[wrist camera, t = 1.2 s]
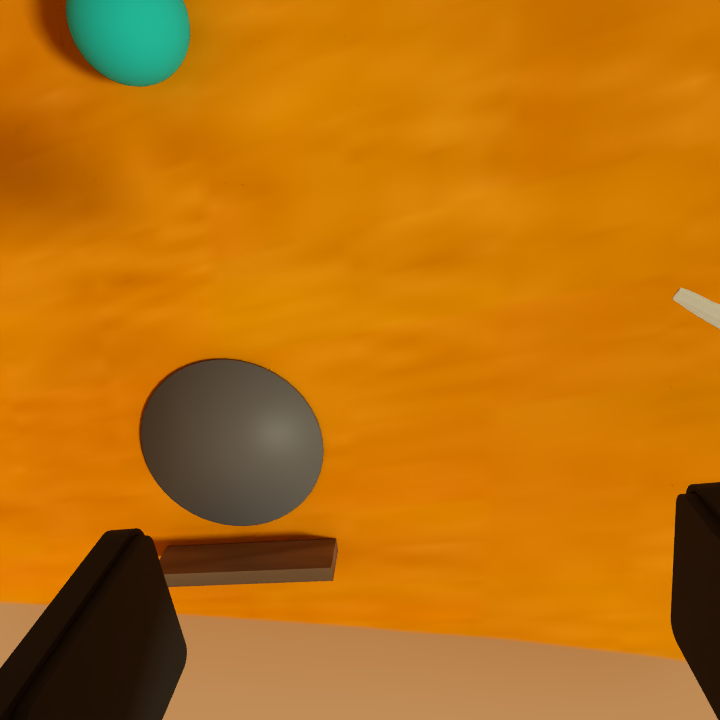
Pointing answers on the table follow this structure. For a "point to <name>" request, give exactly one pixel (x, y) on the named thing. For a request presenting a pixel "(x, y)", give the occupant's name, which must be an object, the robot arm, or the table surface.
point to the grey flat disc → (232, 442)
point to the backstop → (250, 563)
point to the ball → (131, 37)
